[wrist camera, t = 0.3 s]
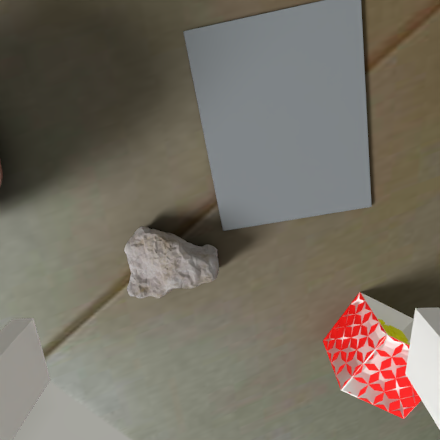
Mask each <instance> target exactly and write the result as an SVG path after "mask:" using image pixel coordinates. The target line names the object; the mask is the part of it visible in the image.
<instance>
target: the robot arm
mask: <svg viewBox="0 0 440 440" xmlns="http://www.w3.org/2000/svg"><path fill="white" fill-rule="evenodd" d="M405 374H406V376H407V377H408V379H409V381H410V382H411V384H412V385H413V387H414V389H415V390H416V392H417V394H418V395H419V397H420V398H421V400H422V402H423V403H424V405H425V407H426V408H427V410H428V411H429V413H430V415H431V416H432V418H433V420H434V421H435V423H436V424H437V426H438V428H439V429H440V308H439V307H438V308H415V314H414V320H413V327H412V333H411V340H410V346H409V353H408V359H407V366H406V372H405ZM49 381H50V376H49V373H48V369H47V365H46V361H45V358H44V354H43V350H42V347H41V343H40V339H39V336H38V332H37V328H36V325H35V321H34V318H19V319H12V320H11V321H10V322H9V323H8V324H7V325H6V326H5V327H4V328H3V329H2V330H1V331H0V440H12V439H13V438H14V436H15V435H16V433H17V432H18V430H19V428H20V427H21V425H22V424H23V422H24V420H25V419H26V418H27V416H28V414H29V413H30V411H31V410H32V408H33V407H34V405H35V403H36V402H37V400H38V399H39V397H40V395H41V394H42V392H43V391H44V389H45V388H46V386H47V384H48V383H49Z"/></svg>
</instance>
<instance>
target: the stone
mask: <svg viewBox="0 0 440 440" xmlns="http://www.w3.org/2000/svg"><path fill="white" fill-rule="evenodd" d="M124 251H125V253H126V254H127V257H128V263H129V266H130V270H131V276H130V281H129V285H128V288H127V290H128V293H129V295H130V296H136V297H137V298H140V299H141V298H145V297H147V296H153V297H156V298H161V297H163V296H165V295H166V294H168V293H169V292H170V291H171V290H172V289H174V288H185V289H190V288H194V287H197V286H199V285H200V284H202V283H208V282H211V281H213V280H215V279H216V278H217V275H218V271H219V264H218V258H217V256H218V254H217V249H216V248H215V247H214V246H212V245H209V244H207V245H204V246H202V247H200V246H196V245H193V244H192V243H188V242H186V241H185V240H184V239H181V238H180V237H177V236H176V235H174V234H172V233H165V232H162V231H159V230H155V229H150V228H148V227H144V226H141V227H140V228H139V229H137V230H136V232H135V233H134V235H133V236H132V237H131V238H130V239H129V241H128V242H127V244H126V246H125V249H124Z"/></svg>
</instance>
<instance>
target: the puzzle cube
mask: <svg viewBox="0 0 440 440" xmlns="http://www.w3.org/2000/svg"><path fill="white" fill-rule="evenodd" d="M413 320H414V319H413V318H411V317H409V316H407V315H405V314H403V313H401V312H399V311H397V310H395V309H393V308H391V307H389V306H387V305H385V304H383V303H381V302H379V301H377V300H375V299H373V298H371V297H369V296H367V295H365V294H363V293H361V292H360V293H359V294H358V295H357V296H356V297H355V299H354V300H353V301H352V303H351V304H350V306H349V307H348V308H347V310H346V311H345V312H344V314H343V315H342V317H341V318H340V319H339V320H338V321H337V323H336V324H335V325H334V327H333V328H332V330H331V331H330V332H329V333H328V335H327V336H326V337H325V339H324V340H323V342H324V345H325V348H326V351H327V353H328V356H329V359H330V362H331V364H332V367H333V370H334V372H335V375H336V378H337V381H338V383H339V386H340V389H341V391H344V392H346V393H348V394H350V395H352V396H355V397H357V398H359V399H361V400H363V401H366V402H368V403H370V404H372V405H374V406H377V407H379V408H381V409H383V410H385V411H388V412H390V413H392V414H394V415H396V416H399V417H401V418H403V419H404V418H405V417H406V416H407V415H408V414H409V413H410V412H411V411H412V410H413V409H414V408H415V406H416V405H417V404H418V403H419V402H420V401H421V398H420V397H419V395H418V394H417V392H416V390H415V389H414V387H413V385H412V384H411V382H410V381H409V379H408V377H407V376H406V374H405V372H406V366H407V359H408V353H409V346H410V340H411V333H412V327H413Z"/></svg>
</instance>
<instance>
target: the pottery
mask: <svg viewBox="0 0 440 440" xmlns="http://www.w3.org/2000/svg"><path fill="white" fill-rule="evenodd" d="M2 178H3V174H2V167H1V160H0V186H1V183H2Z"/></svg>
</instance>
